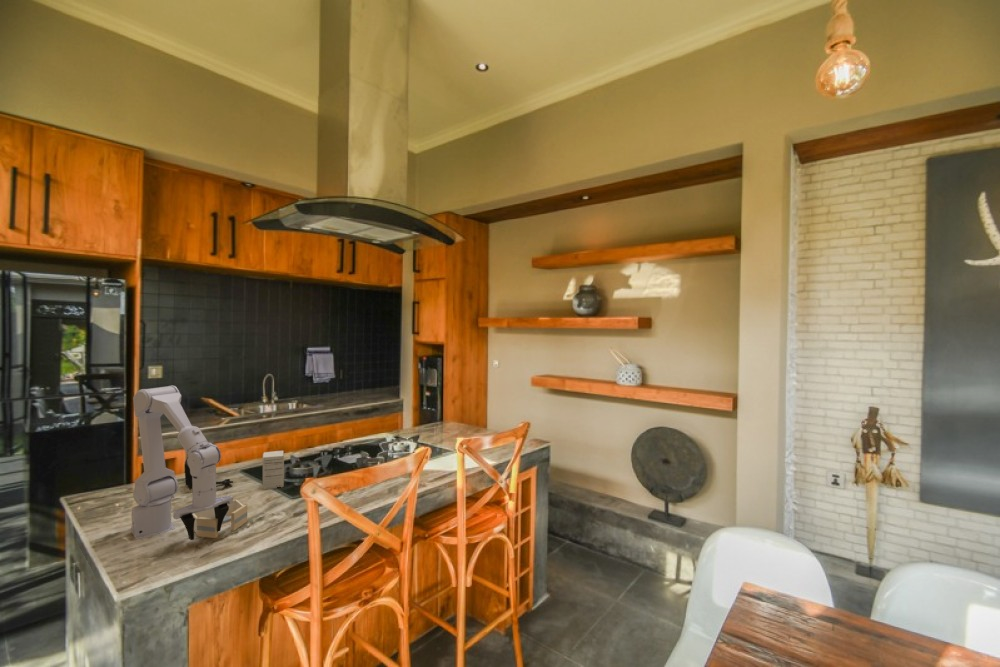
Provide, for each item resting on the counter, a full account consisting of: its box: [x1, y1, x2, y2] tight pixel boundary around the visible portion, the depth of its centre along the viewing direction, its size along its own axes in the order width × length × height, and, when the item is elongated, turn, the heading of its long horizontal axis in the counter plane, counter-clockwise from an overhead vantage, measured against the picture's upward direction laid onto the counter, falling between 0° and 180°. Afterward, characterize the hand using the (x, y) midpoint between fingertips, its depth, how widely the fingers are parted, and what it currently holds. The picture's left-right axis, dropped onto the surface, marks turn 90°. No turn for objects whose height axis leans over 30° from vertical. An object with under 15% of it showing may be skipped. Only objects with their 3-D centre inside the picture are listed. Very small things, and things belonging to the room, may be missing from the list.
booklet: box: [222, 515, 231, 524], centre depth 139 cm, size 6×4×1 cm
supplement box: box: [262, 450, 285, 491], centre depth 172 cm, size 7×7×13 cm
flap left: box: [196, 517, 219, 539], centre depth 131 cm, size 7×1×6 cm, turn 81°
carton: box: [192, 499, 244, 534], centre depth 139 cm, size 13×8×5 cm, turn 138°
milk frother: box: [184, 457, 234, 489], centre depth 171 cm, size 14×16×15 cm
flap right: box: [230, 503, 248, 531], centre depth 138 cm, size 7×1×6 cm, turn 176°
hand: (204, 534), depth 128 cm, fingers open, 6 cm apart
